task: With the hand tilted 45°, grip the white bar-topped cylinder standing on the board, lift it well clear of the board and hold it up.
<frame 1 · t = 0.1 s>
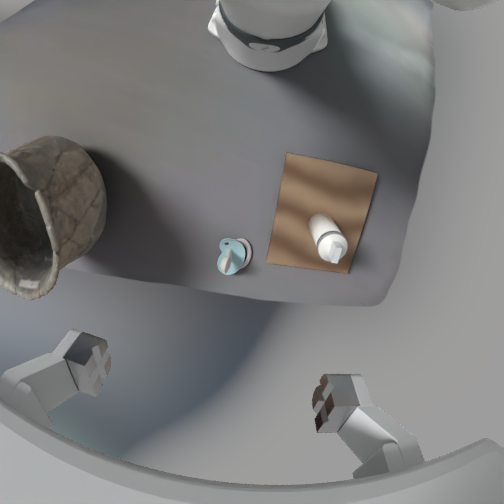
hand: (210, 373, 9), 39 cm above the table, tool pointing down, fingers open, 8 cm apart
pacifier: (235, 251, 51), on the table
pot: (73, 187, 45), on the table
board: (320, 216, 47), on the table
white bar-topped cylinder: (320, 224, 47), point 1 cm above the table, touching board
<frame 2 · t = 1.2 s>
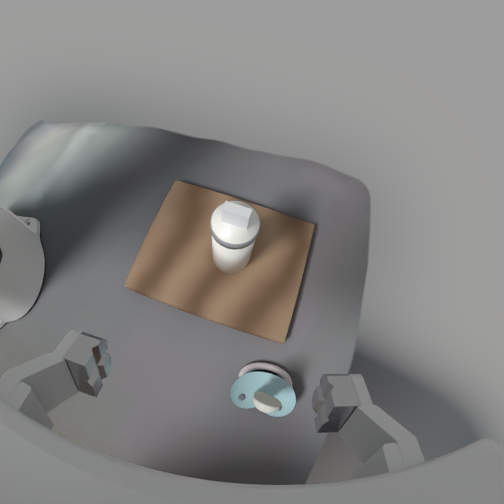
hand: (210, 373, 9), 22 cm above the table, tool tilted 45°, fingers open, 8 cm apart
pacifier: (263, 387, 29), on the table
board: (223, 256, 34), on the table
white bar-topped cylinder: (231, 256, 33), point 1 cm above the table, touching board
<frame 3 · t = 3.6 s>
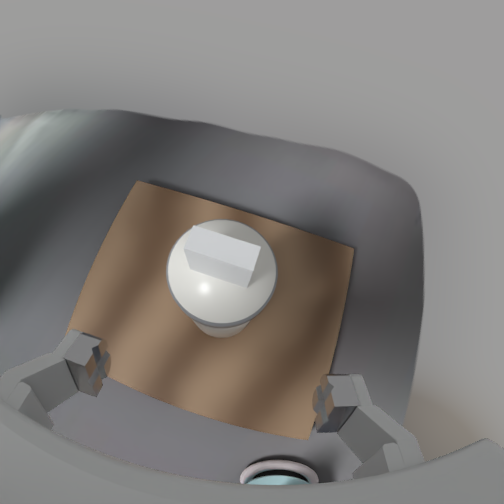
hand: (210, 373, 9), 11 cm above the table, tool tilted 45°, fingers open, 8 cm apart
pacifier: (275, 486, 16), on the table
board: (209, 306, 20), on the table
white bar-topped cylinder: (221, 307, 19), point 1 cm above the table, touching board
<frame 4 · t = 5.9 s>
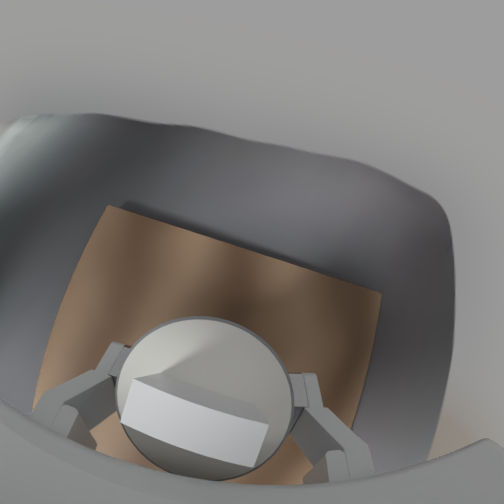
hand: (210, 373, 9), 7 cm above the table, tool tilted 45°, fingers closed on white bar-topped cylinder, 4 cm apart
board: (199, 371, 15), on the table
white bar-topped cylinder: (214, 378, 14), point 1 cm above the table, touching board, gripper
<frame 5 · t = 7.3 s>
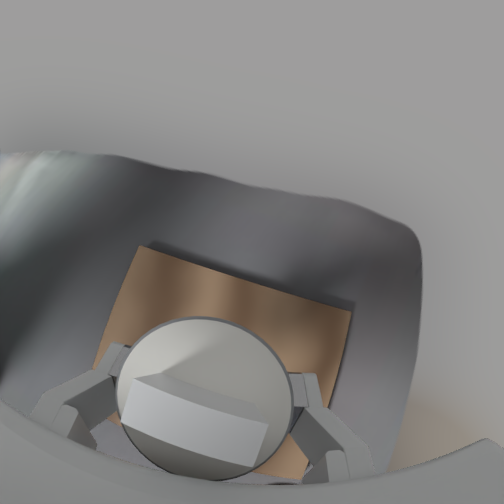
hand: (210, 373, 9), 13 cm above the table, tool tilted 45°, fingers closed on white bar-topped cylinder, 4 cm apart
board: (214, 369, 21), on the table
white bar-topped cylinder: (214, 378, 14), point 8 cm above the table, touching gripper
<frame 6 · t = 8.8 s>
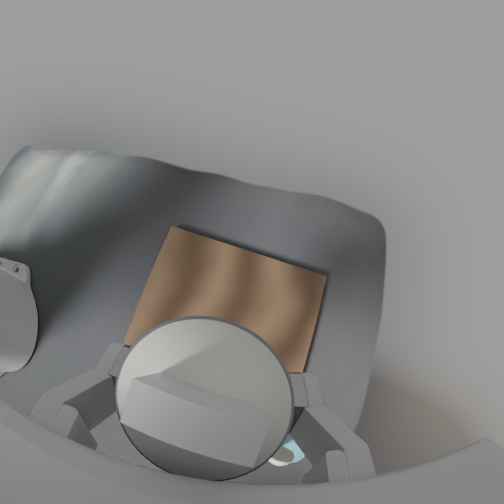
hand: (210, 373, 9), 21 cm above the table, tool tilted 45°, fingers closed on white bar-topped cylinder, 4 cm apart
pacifier: (274, 434, 26), on the table
board: (226, 316, 31), on the table
white bar-topped cylinder: (214, 377, 14), point 16 cm above the table, touching gripper
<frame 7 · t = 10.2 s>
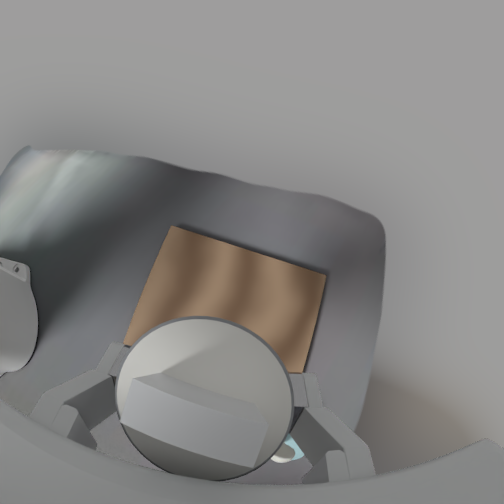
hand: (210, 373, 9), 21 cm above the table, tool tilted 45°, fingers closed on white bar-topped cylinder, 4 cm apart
pacifier: (275, 431, 27), on the table
board: (226, 315, 31), on the table
white bar-topped cylinder: (214, 378, 14), point 16 cm above the table, touching gripper
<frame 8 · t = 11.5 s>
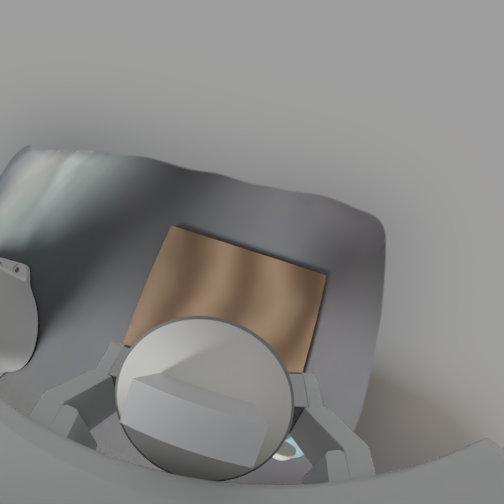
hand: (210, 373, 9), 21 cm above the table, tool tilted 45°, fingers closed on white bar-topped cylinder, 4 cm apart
pacifier: (276, 429, 27), on the table
board: (226, 315, 31), on the table
white bar-topped cylinder: (214, 378, 14), point 16 cm above the table, touching gripper
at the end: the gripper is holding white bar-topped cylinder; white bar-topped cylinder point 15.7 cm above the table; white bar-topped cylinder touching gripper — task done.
